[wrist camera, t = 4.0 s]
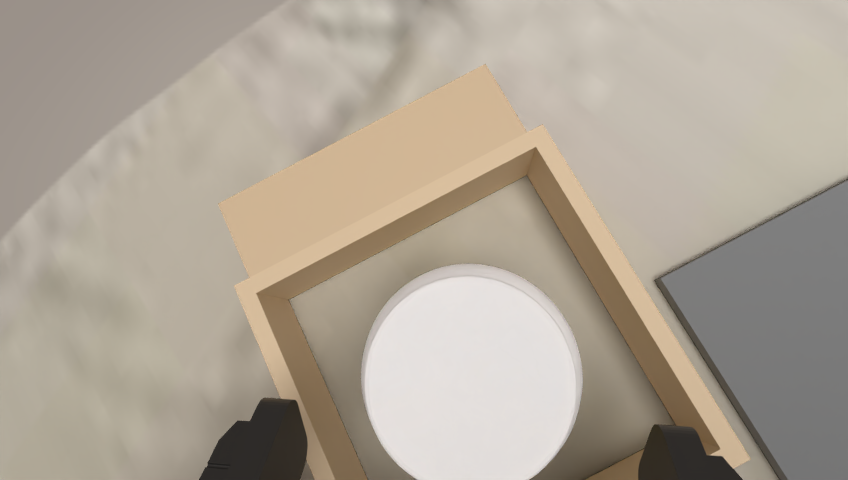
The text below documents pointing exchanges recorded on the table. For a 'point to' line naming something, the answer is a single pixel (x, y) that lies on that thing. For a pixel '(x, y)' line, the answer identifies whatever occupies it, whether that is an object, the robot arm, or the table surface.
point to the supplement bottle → (471, 376)
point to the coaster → (779, 332)
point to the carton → (416, 210)
